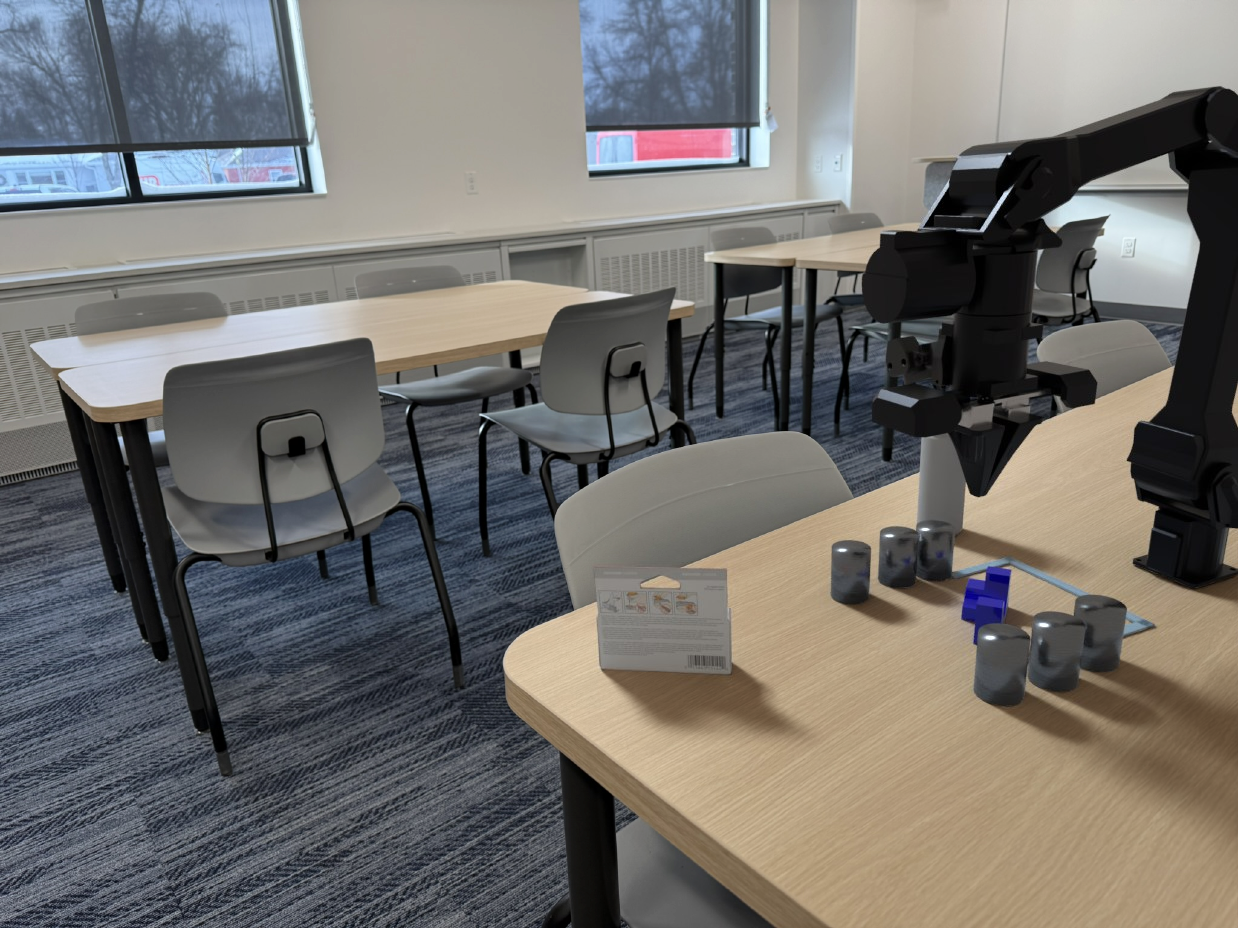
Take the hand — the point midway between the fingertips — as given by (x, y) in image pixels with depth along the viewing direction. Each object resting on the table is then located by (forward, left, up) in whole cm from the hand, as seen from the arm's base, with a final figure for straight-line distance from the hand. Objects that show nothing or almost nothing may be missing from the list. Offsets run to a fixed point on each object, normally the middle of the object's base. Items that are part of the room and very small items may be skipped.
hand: (977, 495), depth 73 cm
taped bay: (-9, 0, -12) cm, 15 cm away
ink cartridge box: (+27, -6, -12) cm, 30 cm away
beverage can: (-12, -17, -12) cm, 24 cm away
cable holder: (-1, +1, -12) cm, 13 cm away
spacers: (+1, 0, -12) cm, 12 cm away
